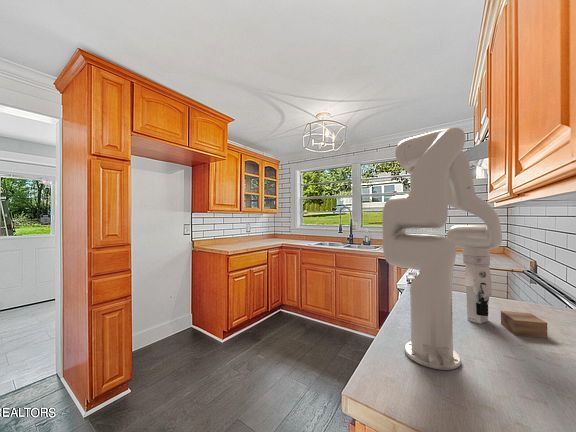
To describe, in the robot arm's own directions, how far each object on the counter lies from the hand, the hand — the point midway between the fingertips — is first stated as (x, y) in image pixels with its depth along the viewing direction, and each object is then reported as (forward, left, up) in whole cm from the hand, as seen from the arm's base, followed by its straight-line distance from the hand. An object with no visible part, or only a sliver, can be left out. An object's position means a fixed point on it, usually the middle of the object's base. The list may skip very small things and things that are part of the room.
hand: (477, 310), depth 88 cm
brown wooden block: (-6, -10, -3) cm, 12 cm away
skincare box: (0, 0, -3) cm, 3 cm away
